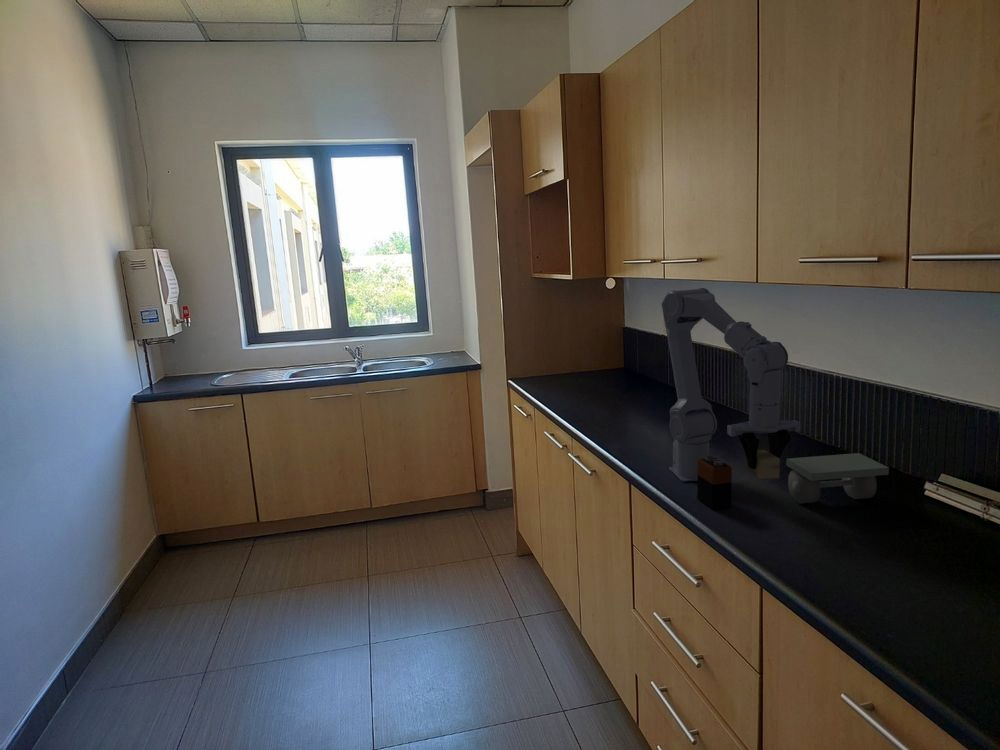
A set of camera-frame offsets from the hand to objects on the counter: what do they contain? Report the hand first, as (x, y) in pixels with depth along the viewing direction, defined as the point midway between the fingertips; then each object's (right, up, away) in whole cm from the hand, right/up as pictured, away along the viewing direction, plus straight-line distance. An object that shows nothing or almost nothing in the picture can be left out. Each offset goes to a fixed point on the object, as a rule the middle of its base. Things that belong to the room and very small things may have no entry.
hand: (762, 466), depth 132 cm
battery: (-9, -9, +4) cm, 13 cm away
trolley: (+15, -7, +1) cm, 17 cm away
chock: (0, -1, 0) cm, 1 cm away
